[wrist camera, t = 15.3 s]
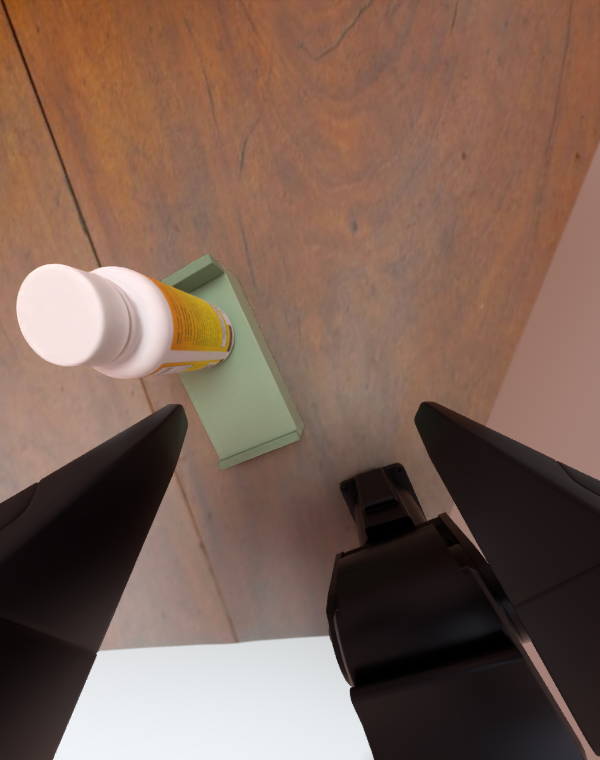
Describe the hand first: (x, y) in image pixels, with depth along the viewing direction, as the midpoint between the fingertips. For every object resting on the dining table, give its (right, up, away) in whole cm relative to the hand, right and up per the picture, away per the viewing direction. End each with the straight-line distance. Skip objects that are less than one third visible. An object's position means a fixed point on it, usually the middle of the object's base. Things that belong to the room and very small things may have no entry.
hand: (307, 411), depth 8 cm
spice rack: (-7, +2, +13) cm, 15 cm away
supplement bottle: (-8, +5, +10) cm, 14 cm away
